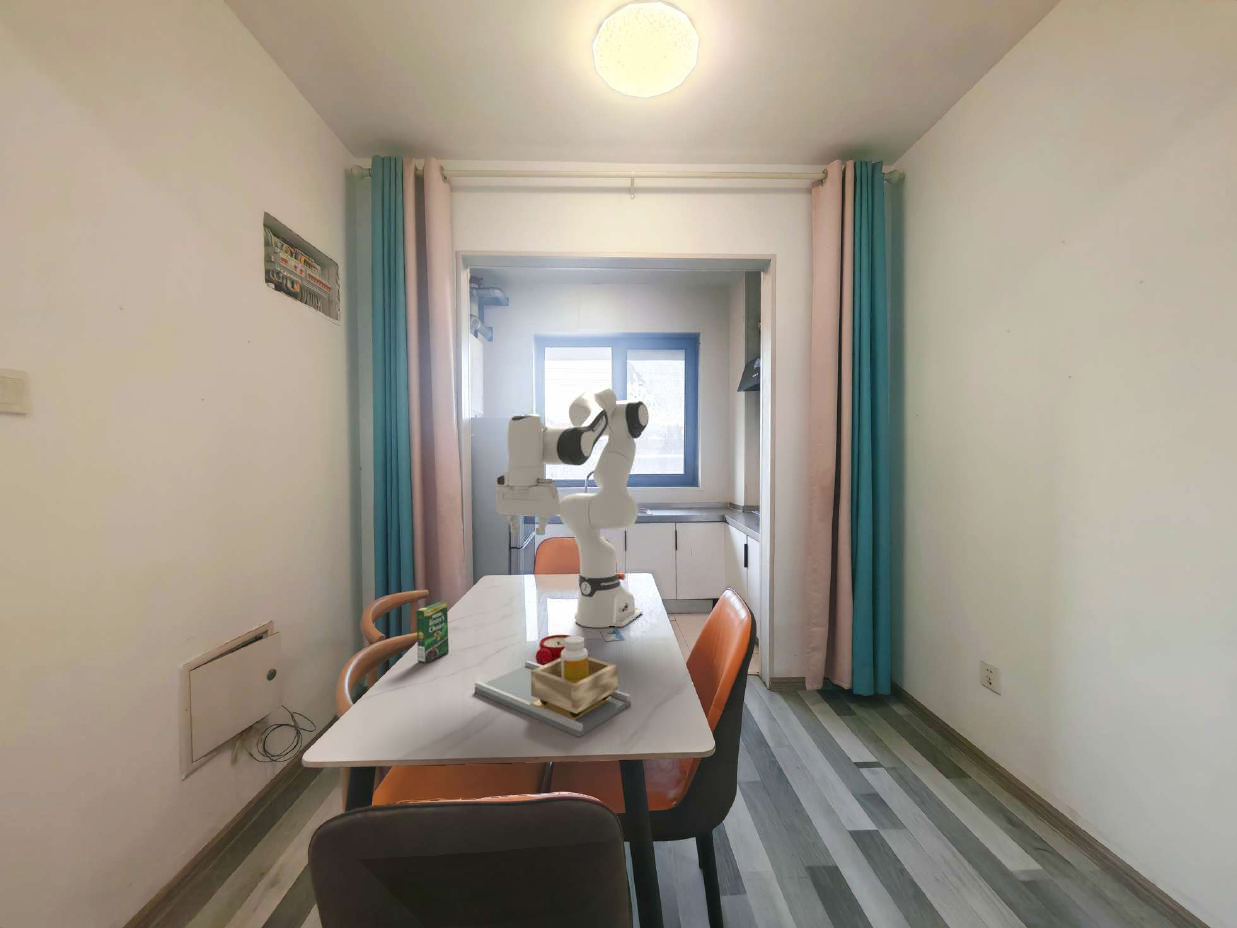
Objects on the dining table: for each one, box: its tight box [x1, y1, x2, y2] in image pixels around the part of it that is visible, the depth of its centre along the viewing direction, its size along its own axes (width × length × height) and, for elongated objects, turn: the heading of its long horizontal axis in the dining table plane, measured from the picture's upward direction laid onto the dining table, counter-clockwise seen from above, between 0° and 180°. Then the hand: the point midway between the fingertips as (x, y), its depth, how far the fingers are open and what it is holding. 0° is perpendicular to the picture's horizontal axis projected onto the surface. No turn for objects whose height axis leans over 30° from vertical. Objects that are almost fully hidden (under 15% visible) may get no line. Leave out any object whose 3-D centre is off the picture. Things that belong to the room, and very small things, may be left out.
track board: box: [474, 660, 631, 738], centre depth 104 cm, size 15×30×2 cm, turn 52°
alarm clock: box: [535, 634, 570, 665], centre depth 125 cm, size 10×6×15 cm
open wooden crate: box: [531, 656, 619, 717], centre depth 100 cm, size 12×12×6 cm
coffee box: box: [415, 601, 450, 664], centre depth 127 cm, size 8×3×13 cm, turn 154°
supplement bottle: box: [561, 635, 589, 683], centre depth 100 cm, size 5×5×10 cm
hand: (527, 533), depth 127 cm, fingers open, 8 cm apart
